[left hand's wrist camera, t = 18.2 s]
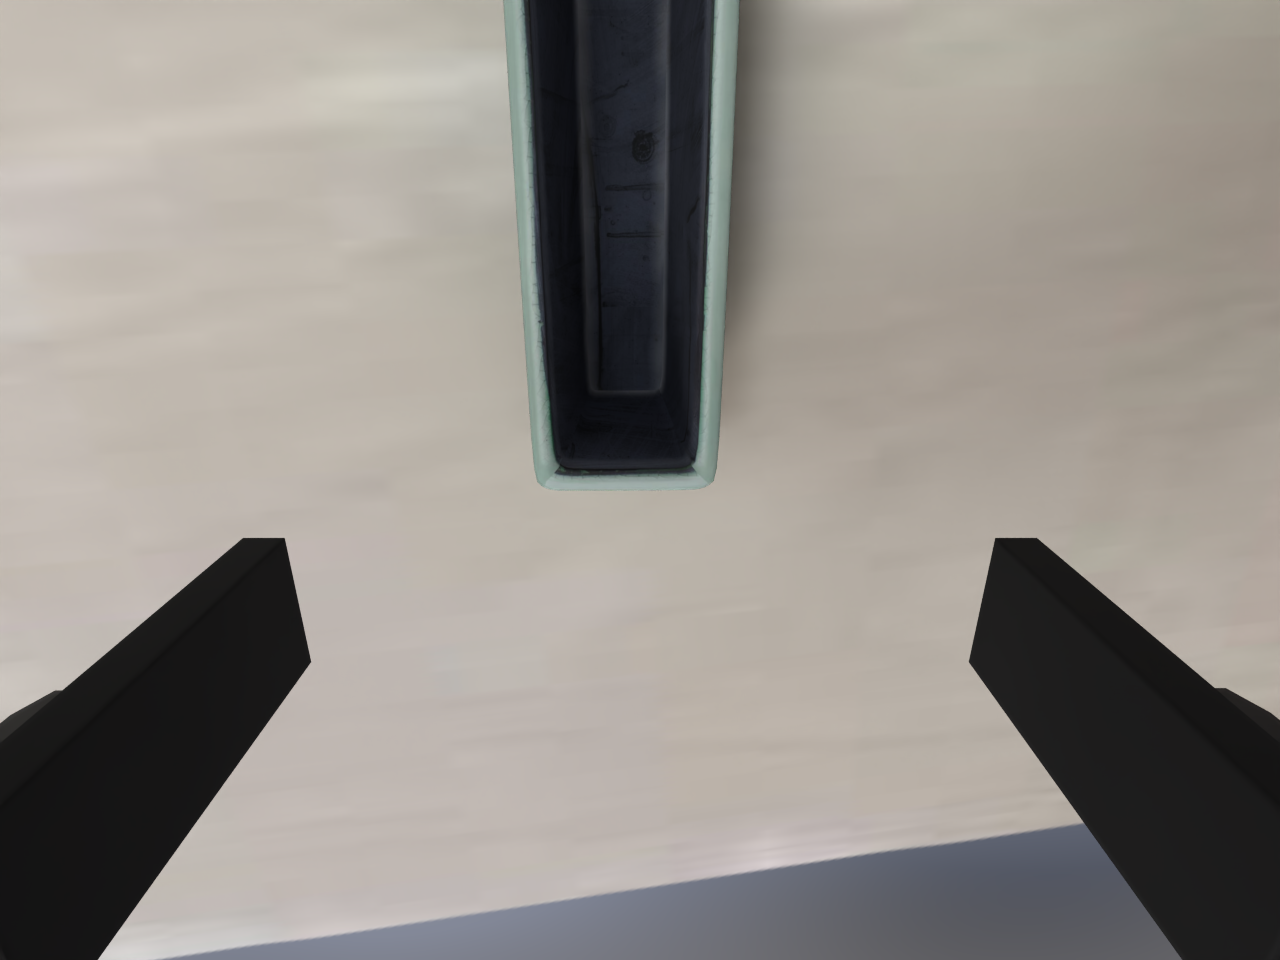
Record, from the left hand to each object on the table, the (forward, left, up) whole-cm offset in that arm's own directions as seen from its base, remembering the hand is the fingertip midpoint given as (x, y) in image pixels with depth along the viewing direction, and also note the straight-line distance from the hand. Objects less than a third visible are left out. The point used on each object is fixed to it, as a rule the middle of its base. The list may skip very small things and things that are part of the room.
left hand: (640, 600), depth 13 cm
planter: (+2, -10, -21) cm, 23 cm away
